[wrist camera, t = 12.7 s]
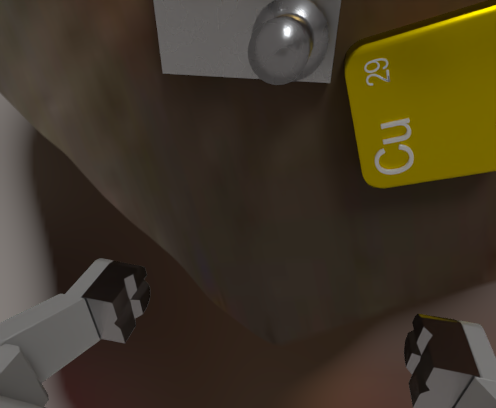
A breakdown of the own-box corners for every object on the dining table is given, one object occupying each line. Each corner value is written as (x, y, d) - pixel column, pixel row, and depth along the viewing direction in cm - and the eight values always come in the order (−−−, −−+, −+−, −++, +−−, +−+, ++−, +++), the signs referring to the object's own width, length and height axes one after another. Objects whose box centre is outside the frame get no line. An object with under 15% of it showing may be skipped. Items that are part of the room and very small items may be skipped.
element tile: (511, 149, 36) (532, 169, 32) (363, 174, 41) (365, 194, 37) (519, -11, 29) (547, -10, 25) (340, 45, 34) (340, 52, 30)
